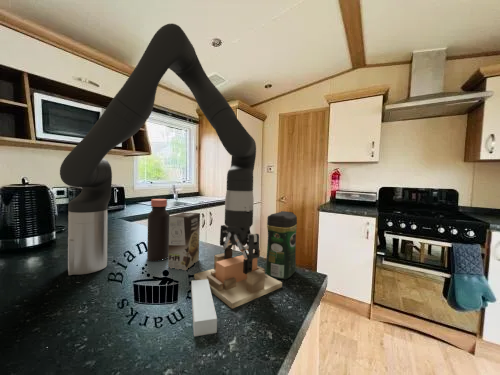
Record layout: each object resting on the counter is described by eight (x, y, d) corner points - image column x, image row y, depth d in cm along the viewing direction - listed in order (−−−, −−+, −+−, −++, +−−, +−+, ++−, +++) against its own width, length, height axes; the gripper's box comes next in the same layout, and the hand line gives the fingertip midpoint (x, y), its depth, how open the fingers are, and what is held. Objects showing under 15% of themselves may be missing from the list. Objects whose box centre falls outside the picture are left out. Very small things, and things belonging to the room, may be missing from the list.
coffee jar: (274, 265, 72) (277, 208, 72) (298, 271, 68) (300, 211, 68) (260, 275, 64) (263, 212, 63) (286, 283, 60) (289, 215, 59)
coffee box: (186, 271, 66) (188, 217, 65) (167, 268, 67) (168, 215, 66) (199, 260, 75) (201, 212, 74) (182, 258, 76) (183, 211, 75)
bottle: (169, 253, 80) (170, 198, 79) (168, 260, 73) (169, 200, 72) (148, 255, 77) (149, 198, 77) (145, 262, 71) (146, 200, 70)
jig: (232, 308, 47) (232, 284, 47) (194, 278, 61) (194, 259, 61) (281, 287, 58) (282, 266, 58) (239, 265, 72) (240, 248, 71)
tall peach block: (223, 286, 54) (224, 266, 54) (215, 280, 57) (215, 261, 57) (256, 275, 62) (257, 257, 61) (247, 270, 65) (248, 253, 64)
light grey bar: (193, 338, 39) (194, 321, 39) (191, 292, 54) (191, 280, 54) (216, 334, 40) (217, 318, 40) (207, 290, 55) (207, 279, 55)
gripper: (213, 205, 62) (211, 262, 62) (245, 212, 51) (242, 281, 51) (234, 203, 67) (233, 257, 67) (268, 210, 56) (265, 273, 56)
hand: (237, 267), depth 59 cm, fingers open, 8 cm apart
